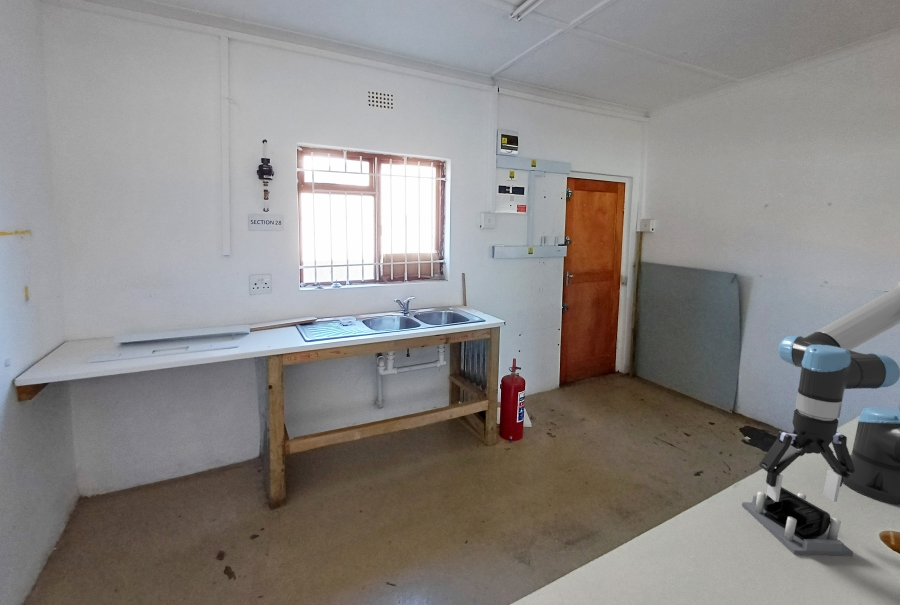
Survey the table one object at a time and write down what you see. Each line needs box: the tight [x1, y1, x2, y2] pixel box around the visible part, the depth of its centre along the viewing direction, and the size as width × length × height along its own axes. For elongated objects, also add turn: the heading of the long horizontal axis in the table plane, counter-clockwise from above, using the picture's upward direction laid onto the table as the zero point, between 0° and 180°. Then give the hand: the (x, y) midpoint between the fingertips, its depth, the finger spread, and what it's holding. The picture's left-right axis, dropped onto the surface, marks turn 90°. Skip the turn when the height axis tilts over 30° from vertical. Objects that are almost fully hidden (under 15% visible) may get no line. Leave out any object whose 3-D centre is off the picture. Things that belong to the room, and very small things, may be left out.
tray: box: [741, 491, 854, 557], centre depth 97 cm, size 13×16×6 cm
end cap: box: [765, 486, 832, 540], centre depth 96 cm, size 10×7×7 cm
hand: (801, 498), depth 96 cm, fingers open, 13 cm apart
